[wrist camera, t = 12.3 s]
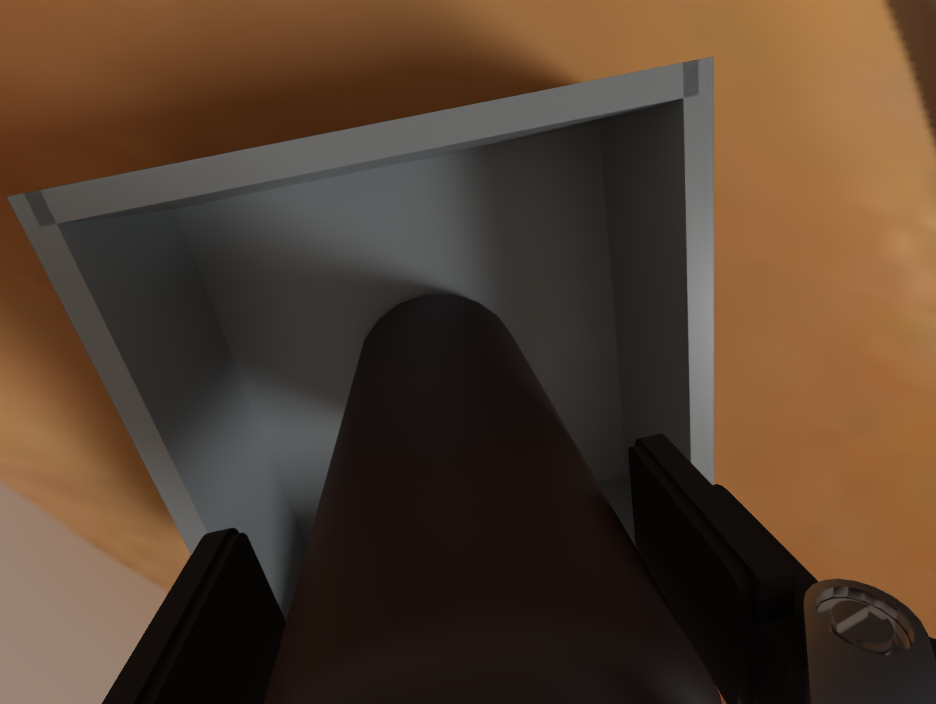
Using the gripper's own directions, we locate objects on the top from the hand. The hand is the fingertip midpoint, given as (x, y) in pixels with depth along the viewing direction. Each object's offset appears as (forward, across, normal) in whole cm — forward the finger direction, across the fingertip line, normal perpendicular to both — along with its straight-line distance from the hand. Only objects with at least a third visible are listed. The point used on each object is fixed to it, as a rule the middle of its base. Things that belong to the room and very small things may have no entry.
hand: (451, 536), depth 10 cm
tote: (+12, 0, 0) cm, 12 cm away
